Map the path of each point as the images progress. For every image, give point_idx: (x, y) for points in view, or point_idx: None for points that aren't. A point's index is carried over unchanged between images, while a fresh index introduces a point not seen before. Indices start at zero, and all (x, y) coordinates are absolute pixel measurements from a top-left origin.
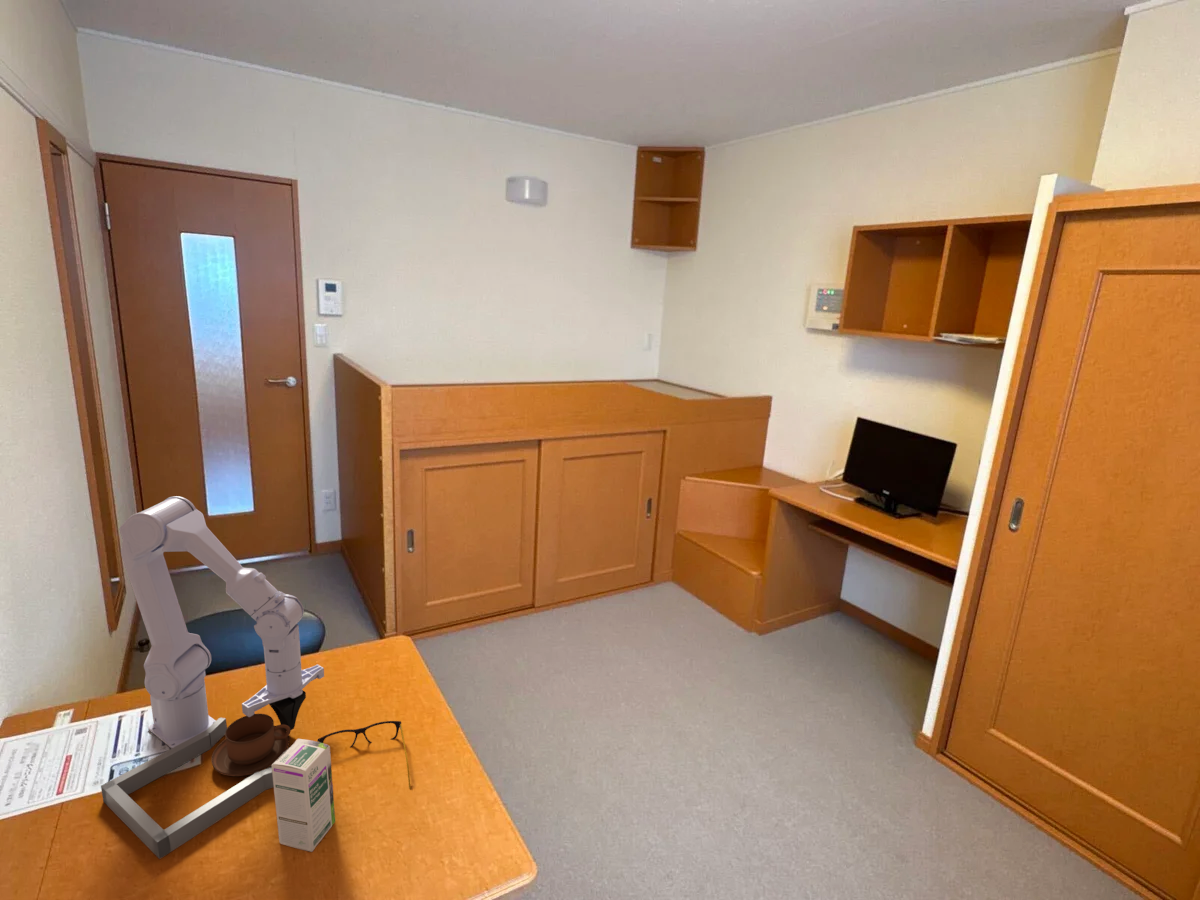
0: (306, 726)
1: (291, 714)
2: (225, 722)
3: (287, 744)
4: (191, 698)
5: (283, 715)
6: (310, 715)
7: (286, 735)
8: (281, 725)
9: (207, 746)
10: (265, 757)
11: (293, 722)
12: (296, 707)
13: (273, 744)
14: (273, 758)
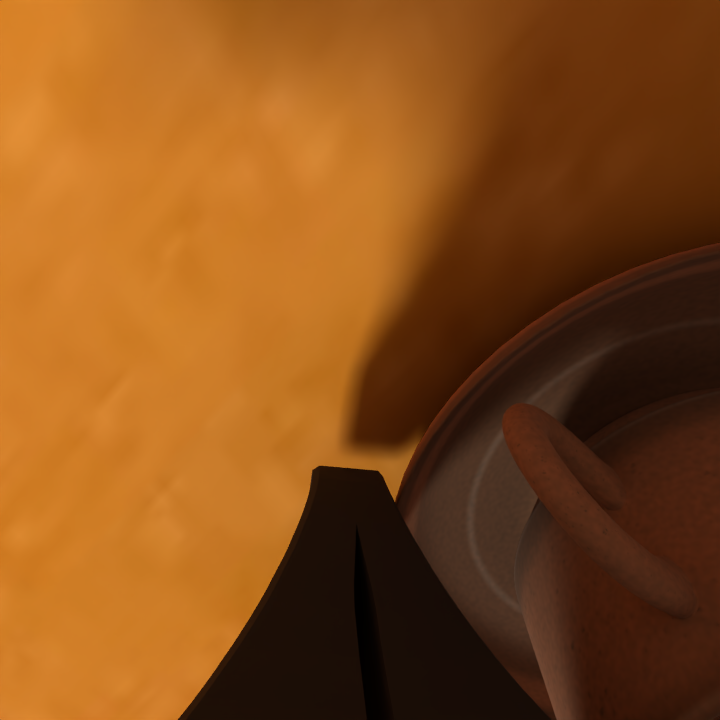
0: (180, 422)
1: (384, 631)
2: None
3: (539, 338)
4: None
5: (527, 699)
6: (66, 497)
7: (546, 416)
8: (640, 567)
9: None
10: (664, 396)
11: (336, 516)
12: (308, 708)
13: (654, 432)
14: (671, 326)
